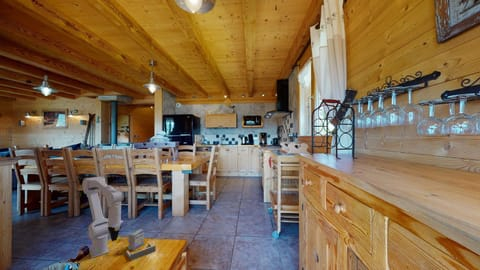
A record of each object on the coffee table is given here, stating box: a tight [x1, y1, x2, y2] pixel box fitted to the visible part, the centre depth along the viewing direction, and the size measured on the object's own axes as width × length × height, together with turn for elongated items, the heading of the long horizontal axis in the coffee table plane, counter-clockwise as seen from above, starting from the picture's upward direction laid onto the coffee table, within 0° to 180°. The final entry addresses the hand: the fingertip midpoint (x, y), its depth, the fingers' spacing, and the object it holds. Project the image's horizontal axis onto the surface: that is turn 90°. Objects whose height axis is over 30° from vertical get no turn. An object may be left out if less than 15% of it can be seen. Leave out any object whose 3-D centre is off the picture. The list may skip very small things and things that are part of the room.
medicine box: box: [127, 229, 145, 251], centre depth 113 cm, size 8×4×9 cm, turn 168°
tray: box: [125, 242, 157, 262], centre depth 106 cm, size 9×13×3 cm
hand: (114, 240), depth 100 cm, fingers closed
